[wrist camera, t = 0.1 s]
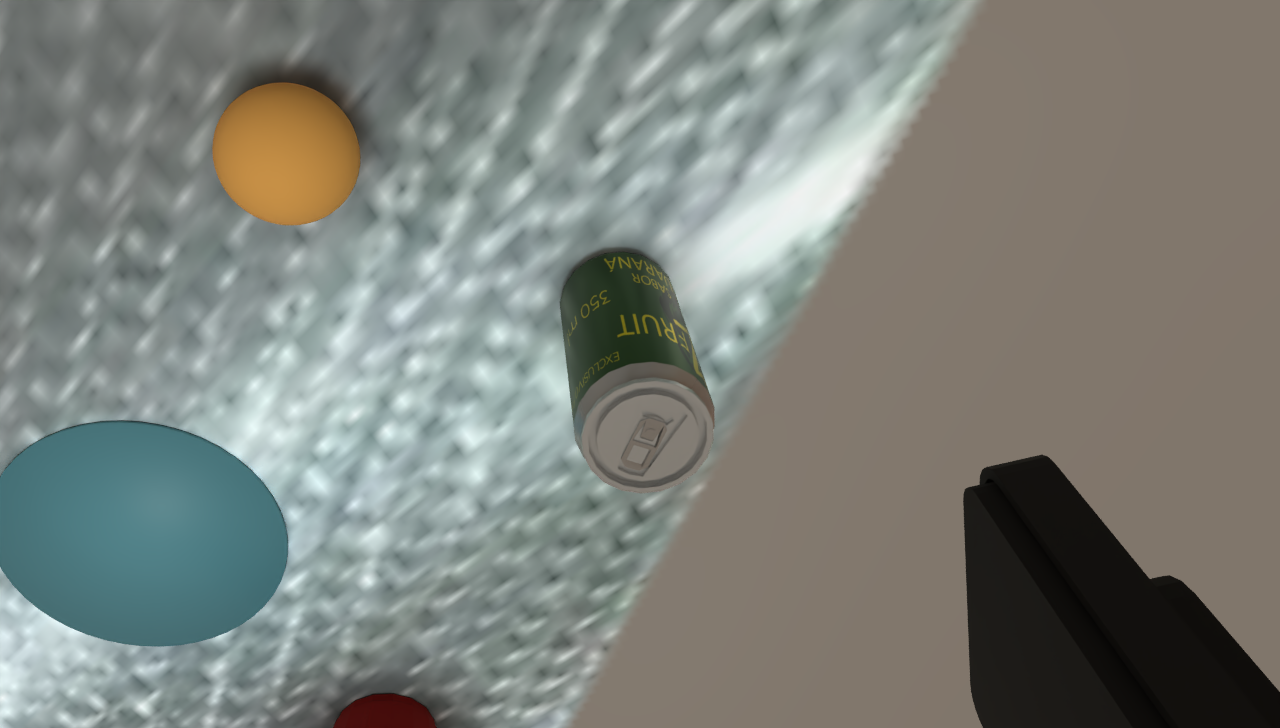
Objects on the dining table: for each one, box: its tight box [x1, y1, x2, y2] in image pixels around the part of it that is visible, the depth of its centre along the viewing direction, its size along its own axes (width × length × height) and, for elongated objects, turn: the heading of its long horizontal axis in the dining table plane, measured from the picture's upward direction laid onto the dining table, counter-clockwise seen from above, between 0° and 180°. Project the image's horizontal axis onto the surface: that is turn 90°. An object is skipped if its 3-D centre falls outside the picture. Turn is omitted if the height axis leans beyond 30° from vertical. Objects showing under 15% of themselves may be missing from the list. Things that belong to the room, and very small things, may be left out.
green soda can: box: [560, 252, 715, 493], centre depth 44 cm, size 5×5×12 cm
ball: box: [213, 83, 360, 225], centre depth 41 cm, size 6×6×6 cm
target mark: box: [0, 421, 288, 646], centre depth 52 cm, size 14×14×1 cm
